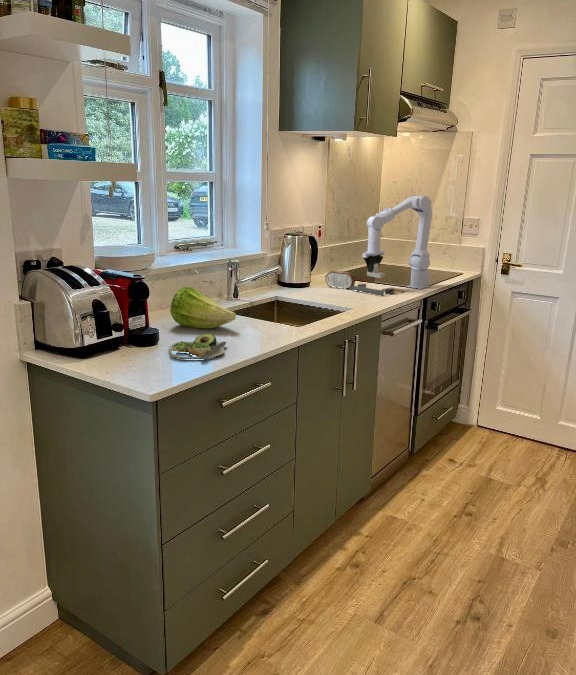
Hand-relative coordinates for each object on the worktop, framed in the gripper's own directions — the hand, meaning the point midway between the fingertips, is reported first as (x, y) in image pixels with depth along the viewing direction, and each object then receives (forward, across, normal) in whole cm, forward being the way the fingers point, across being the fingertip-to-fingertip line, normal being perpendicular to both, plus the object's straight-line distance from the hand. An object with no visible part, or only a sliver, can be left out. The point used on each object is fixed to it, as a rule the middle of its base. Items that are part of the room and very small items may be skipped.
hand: (372, 271), depth 273 cm
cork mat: (+9, -9, +7) cm, 15 cm away
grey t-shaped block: (+2, 0, +2) cm, 3 cm away
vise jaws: (+9, +3, +2) cm, 10 cm away
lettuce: (+9, +100, +2) cm, 100 cm away
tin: (+10, +6, -15) cm, 19 cm away
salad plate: (+10, +120, +24) cm, 123 cm away
